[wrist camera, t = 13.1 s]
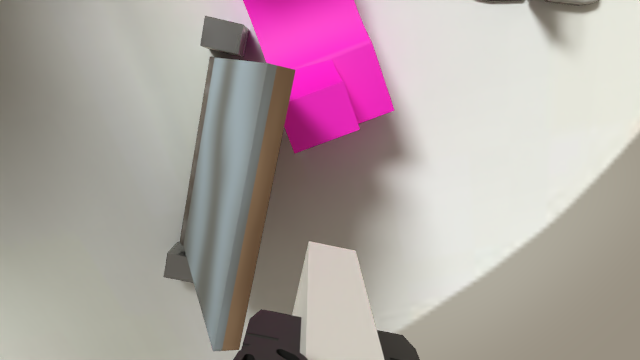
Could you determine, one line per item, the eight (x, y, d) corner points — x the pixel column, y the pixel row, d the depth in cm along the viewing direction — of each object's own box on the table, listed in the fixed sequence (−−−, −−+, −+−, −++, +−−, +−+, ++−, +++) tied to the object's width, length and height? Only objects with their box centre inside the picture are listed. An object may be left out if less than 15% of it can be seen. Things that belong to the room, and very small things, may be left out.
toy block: (382, 107, 30) (404, 113, 23) (299, 138, 31) (294, 153, 23) (307, -118, 28) (304, -193, 20) (216, -81, 28) (181, -141, 21)
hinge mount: (173, 264, 32) (163, 277, 30) (213, 21, 29) (205, 15, 27) (205, 270, 32) (197, 283, 30) (248, 29, 29) (243, 24, 27)
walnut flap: (208, 351, 20) (243, 349, 20) (262, 62, 17) (300, 70, 18) (178, 238, 31) (200, 239, 32) (208, 56, 29) (231, 61, 30)
